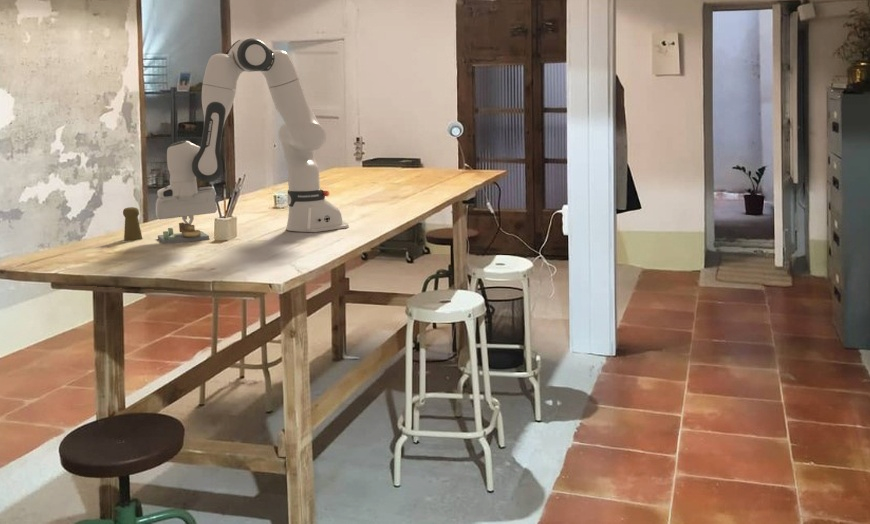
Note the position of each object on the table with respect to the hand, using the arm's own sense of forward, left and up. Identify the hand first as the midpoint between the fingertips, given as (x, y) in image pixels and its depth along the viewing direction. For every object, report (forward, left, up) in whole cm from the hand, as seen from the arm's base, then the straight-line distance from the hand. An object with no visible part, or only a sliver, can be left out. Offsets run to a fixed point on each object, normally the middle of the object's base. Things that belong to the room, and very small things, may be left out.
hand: (188, 229), depth 307 cm
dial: (+1, +3, -2) cm, 3 cm away
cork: (+17, -8, -3) cm, 20 cm away
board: (+2, +1, -3) cm, 4 cm away
